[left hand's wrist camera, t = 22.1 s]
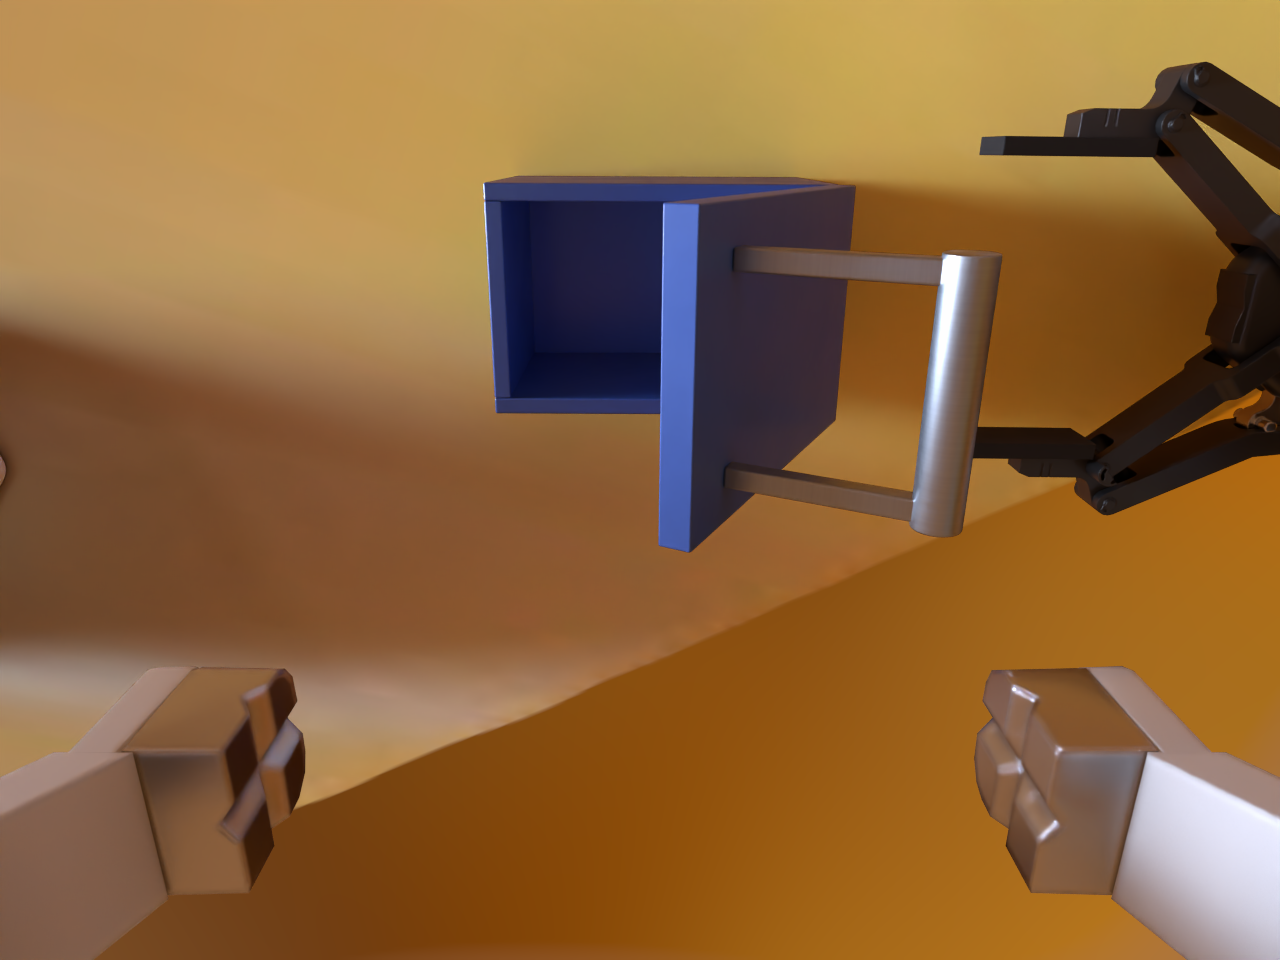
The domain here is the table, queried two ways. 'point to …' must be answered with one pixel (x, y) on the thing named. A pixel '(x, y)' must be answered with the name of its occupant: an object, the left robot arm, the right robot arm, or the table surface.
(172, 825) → the left robot arm
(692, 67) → the table surface
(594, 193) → the chest
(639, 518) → the table surface
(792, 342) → the lid
